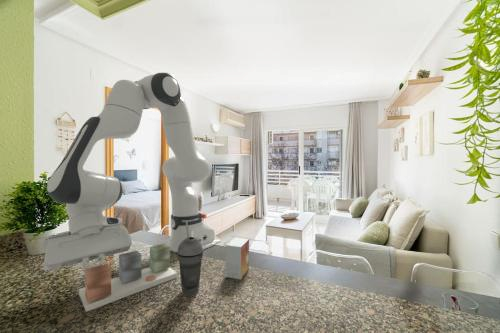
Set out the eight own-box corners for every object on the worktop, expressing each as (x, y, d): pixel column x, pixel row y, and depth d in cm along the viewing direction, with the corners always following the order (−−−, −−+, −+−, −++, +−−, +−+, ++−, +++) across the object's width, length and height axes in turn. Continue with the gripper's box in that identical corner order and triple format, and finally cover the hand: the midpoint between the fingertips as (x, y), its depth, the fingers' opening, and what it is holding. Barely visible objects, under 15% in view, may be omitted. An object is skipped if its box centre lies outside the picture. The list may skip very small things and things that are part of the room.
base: (163, 266, 81) (163, 261, 81) (177, 277, 74) (177, 271, 73) (79, 294, 64) (79, 288, 64) (86, 311, 57) (85, 304, 57)
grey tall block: (136, 272, 73) (136, 250, 72) (141, 277, 70) (141, 254, 69) (119, 277, 69) (119, 254, 69) (123, 283, 66) (123, 259, 66)
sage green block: (164, 263, 79) (164, 243, 79) (169, 267, 76) (169, 246, 76) (149, 268, 75) (149, 247, 75) (154, 272, 72) (154, 250, 72)
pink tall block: (107, 288, 63) (107, 263, 63) (111, 294, 61) (110, 268, 60) (85, 296, 60) (84, 269, 60) (88, 302, 57) (87, 275, 57)
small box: (241, 280, 72) (241, 247, 72) (224, 277, 74) (224, 244, 74) (249, 269, 80) (249, 238, 79) (234, 266, 82) (234, 237, 81)
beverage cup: (196, 301, 61) (197, 226, 61) (171, 297, 63) (171, 225, 62) (207, 286, 69) (207, 219, 68) (184, 283, 70) (184, 218, 69)
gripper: (41, 230, 60) (44, 282, 53) (127, 217, 74) (137, 256, 67) (40, 243, 63) (43, 293, 56) (122, 228, 77) (132, 266, 71)
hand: (95, 273), depth 62 cm, fingers closed
